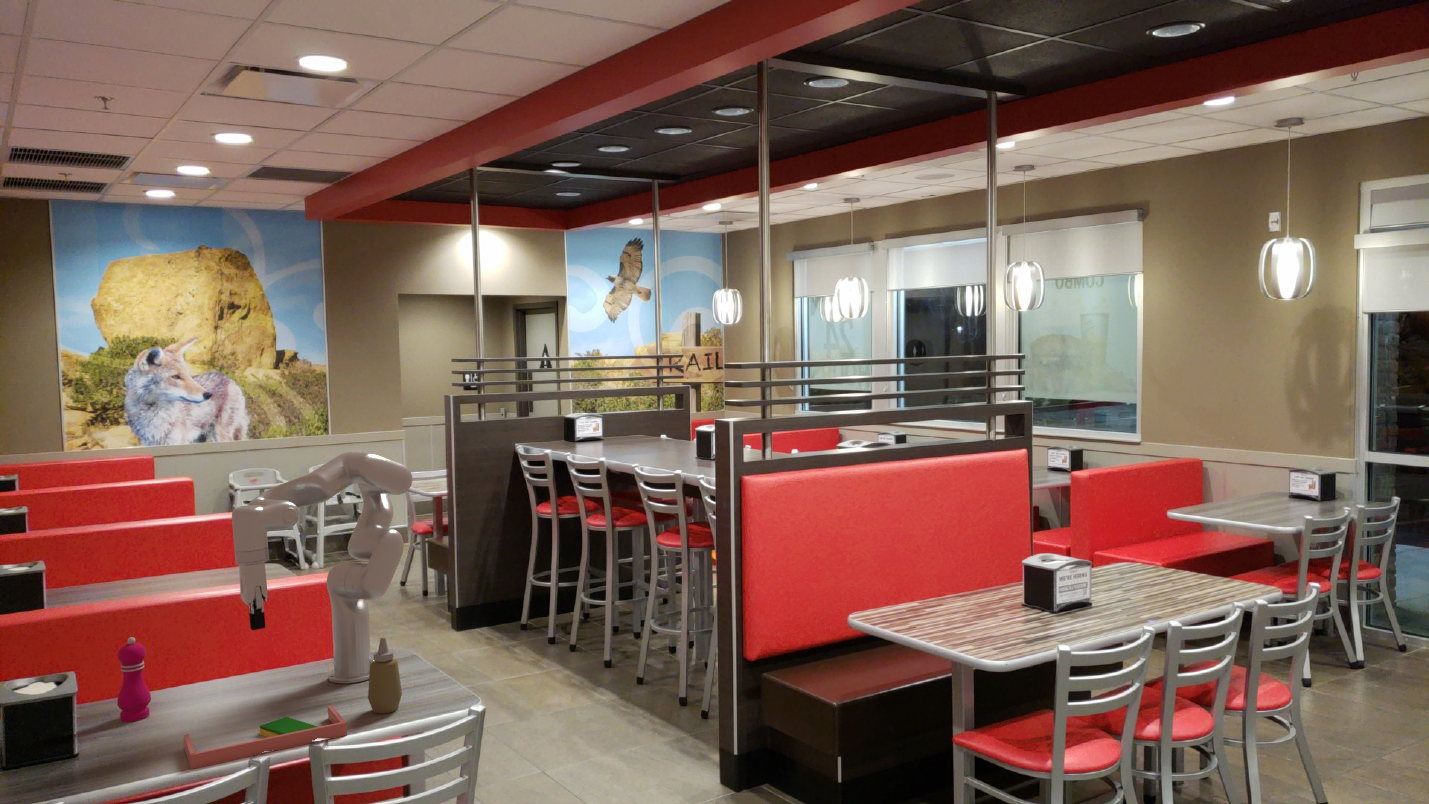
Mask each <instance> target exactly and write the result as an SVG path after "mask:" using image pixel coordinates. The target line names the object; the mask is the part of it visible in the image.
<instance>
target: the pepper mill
mask: <svg viewBox="0 0 1429 804" xmlns="http://www.w3.org/2000/svg"><path fill="white" fill-rule="evenodd" d="M126 642H127V644H124V645H123V646H122V647H120V649H119V650H118V653H117V659H118V661H119V662H120V663H121V664H120V668H121V669H120V671H121V672H122V674H123V676H122V677H123V681H122V684H121V688H120V690H119V693H118V696H117V698H116V699H117V703H116V706H117V707H118V708H119V709H120V710H121V711H120V712H119V720H120V721H121V722H123V723H129V722H131V723H132V722H137V721H142V720H145V719H147V718H148V717H150V707H149V706H148V705H149V704H150V702H151V700H152V696H151V692H150V690H149V688H148V686H147V684H146V682H145V680H144V675H143V669H144V668H145V662H144V659H145V658H146V655H147V649H146V648H145V646H144V645H143V644H141V643H138V642H136V638H135V637H132V636H131V637H128V639H127V640H126Z"/></svg>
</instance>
